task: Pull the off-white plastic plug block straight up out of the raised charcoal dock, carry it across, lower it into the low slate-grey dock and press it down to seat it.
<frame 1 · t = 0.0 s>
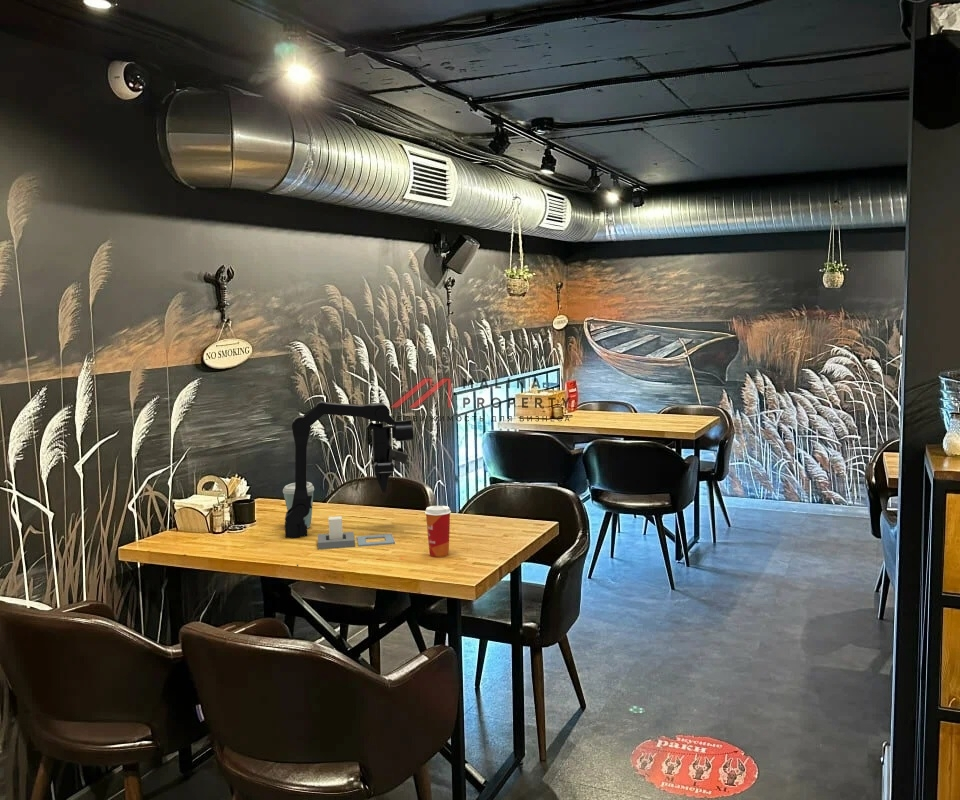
hand: (383, 489, 273), 15 cm above the table, fingers open, 9 cm apart
plug: (336, 543, 258), point 1 cm above the table, touching raised dock
raised dock: (336, 548, 258), on the table
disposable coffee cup: (300, 528, 287), on the table
low dock: (375, 545, 260), on the table
paper cup: (439, 555, 248), on the table
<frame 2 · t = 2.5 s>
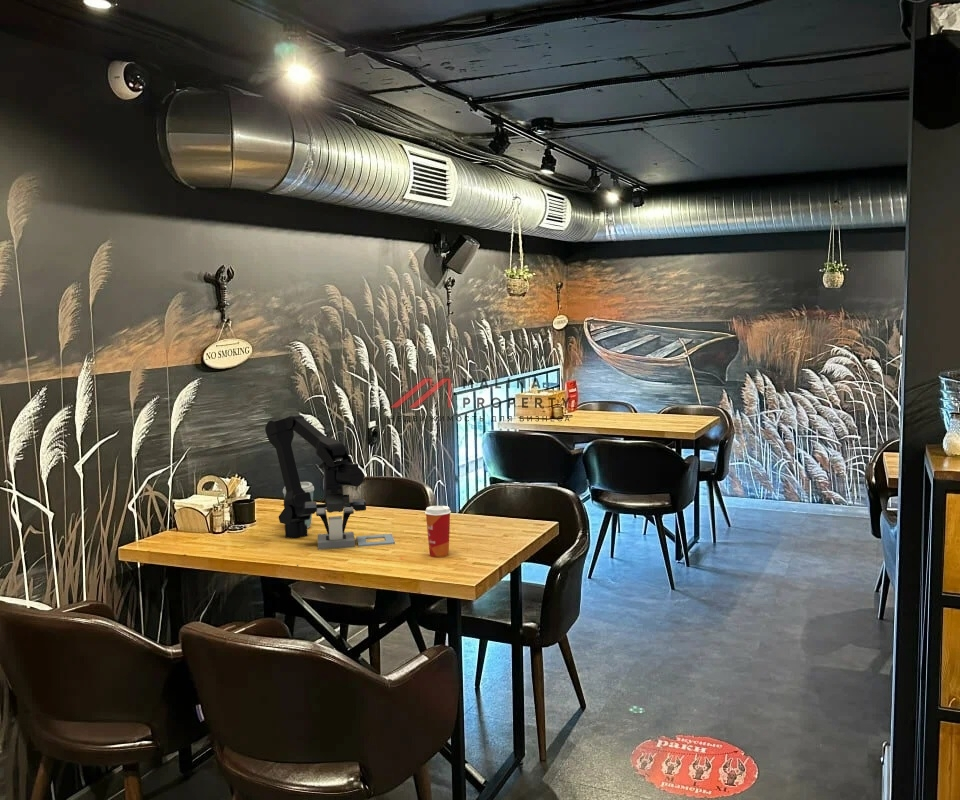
hand: (335, 533, 257), 5 cm above the table, fingers closed on plug, 4 cm apart
plug: (336, 543, 258), point 1 cm above the table, touching gripper, raised dock
everything else where it was.
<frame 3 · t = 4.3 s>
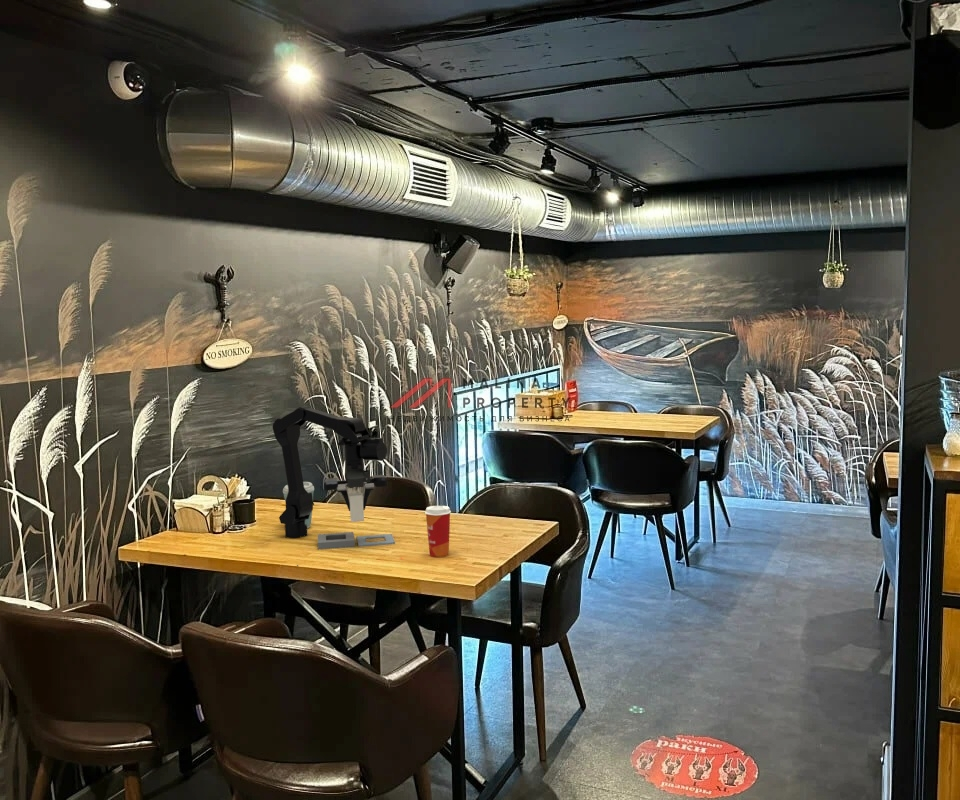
hand: (356, 510, 258), 11 cm above the table, fingers closed on plug, 4 cm apart
plug: (357, 520, 258), point 8 cm above the table, touching gripper
everything else where it was.
when the fingers open (4 cm above the table, at t = 6.3 s): plug drops 1 cm, resting in low dock.
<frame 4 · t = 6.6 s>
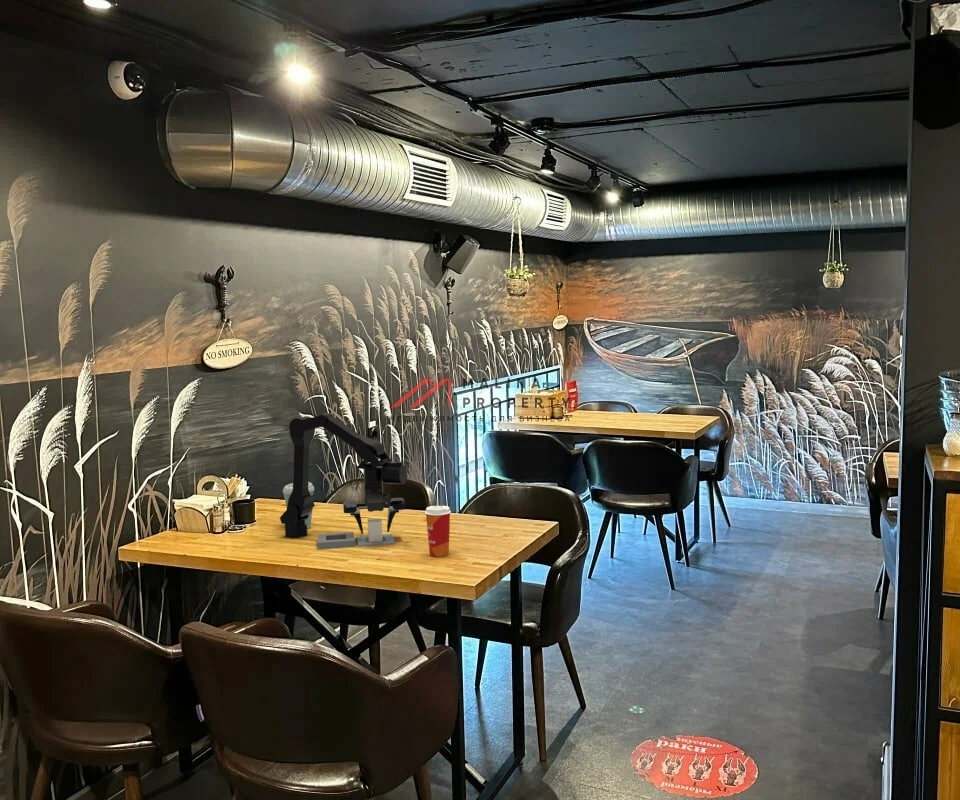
hand: (375, 532, 260), 4 cm above the table, fingers open, 8 cm apart
plug: (375, 545, 260), resting in low dock
everything else where it was.
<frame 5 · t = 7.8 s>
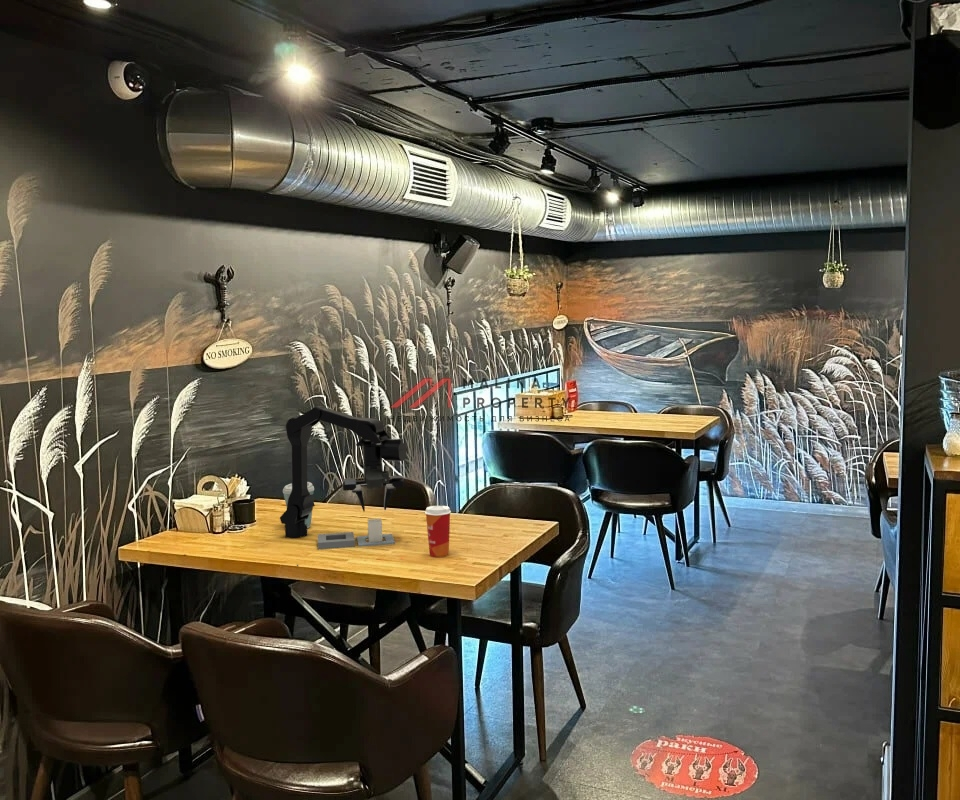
hand: (374, 510, 259), 11 cm above the table, fingers open, 6 cm apart
nothing on the table moved.
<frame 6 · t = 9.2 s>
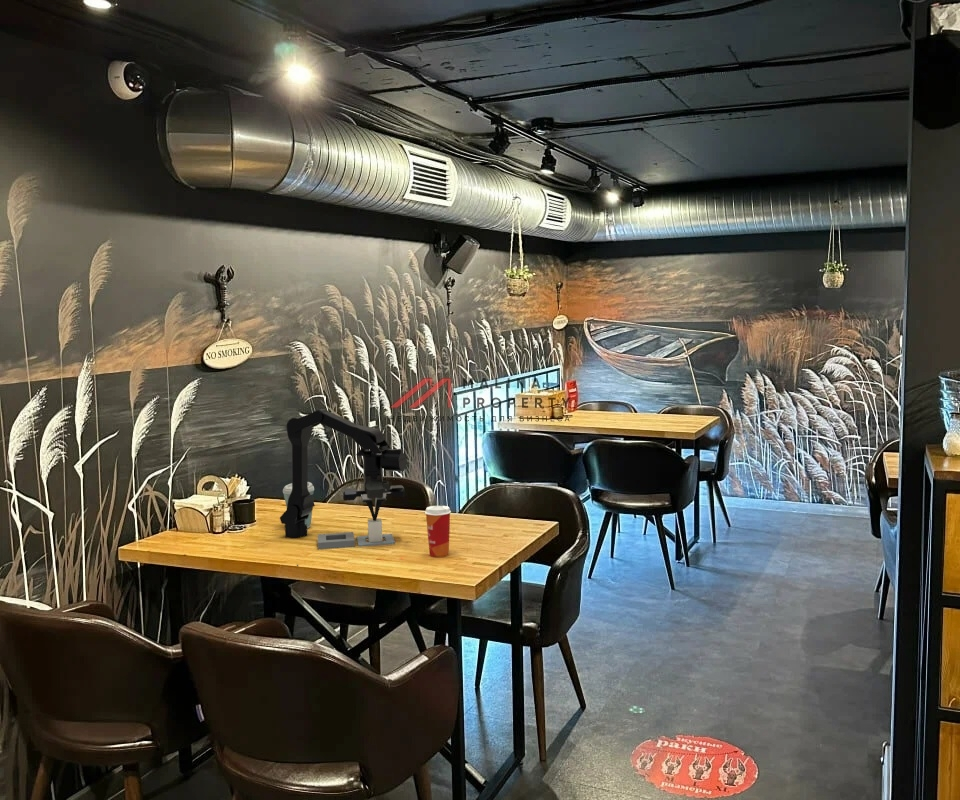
hand: (374, 520, 259), 8 cm above the table, fingers closed, pressing on plug
plug: (375, 545, 260), resting in low dock, touching gripper
everything else where it was.
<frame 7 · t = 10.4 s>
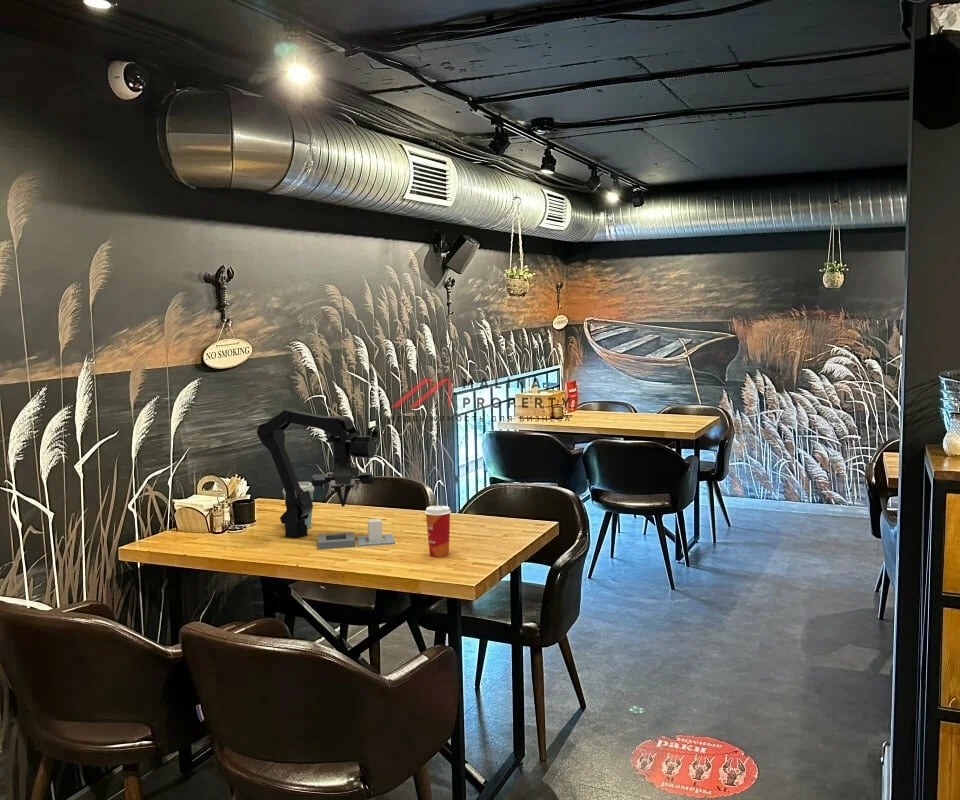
hand: (343, 506, 263), 12 cm above the table, fingers closed
plug: (375, 545, 260), resting in low dock
everything else where it was.
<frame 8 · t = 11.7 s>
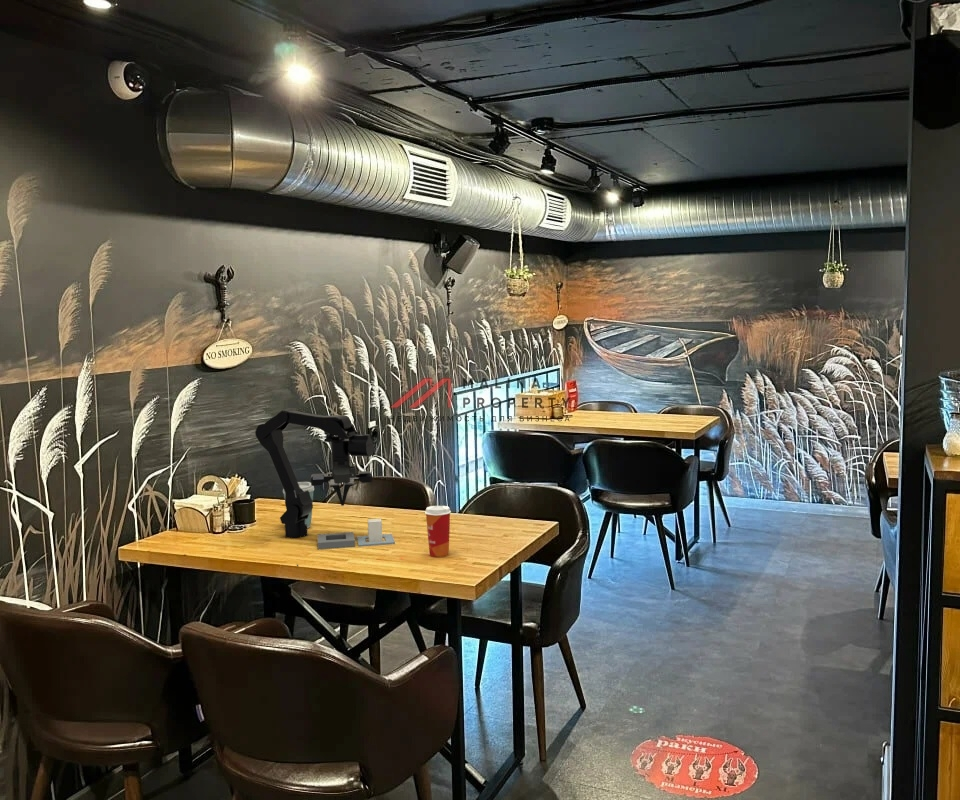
hand: (342, 505, 263), 12 cm above the table, fingers closed
nothing on the table moved.
at the end: plug 0.1 cm off-centre on the low dock, point 0.0 cm above the low dock's base; plug tilted 0°; the gripper is holding nothing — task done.
